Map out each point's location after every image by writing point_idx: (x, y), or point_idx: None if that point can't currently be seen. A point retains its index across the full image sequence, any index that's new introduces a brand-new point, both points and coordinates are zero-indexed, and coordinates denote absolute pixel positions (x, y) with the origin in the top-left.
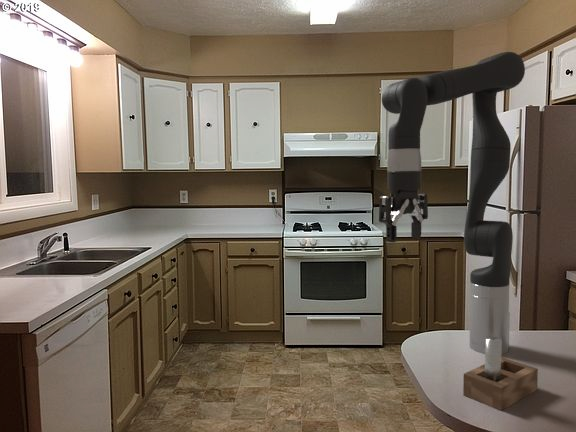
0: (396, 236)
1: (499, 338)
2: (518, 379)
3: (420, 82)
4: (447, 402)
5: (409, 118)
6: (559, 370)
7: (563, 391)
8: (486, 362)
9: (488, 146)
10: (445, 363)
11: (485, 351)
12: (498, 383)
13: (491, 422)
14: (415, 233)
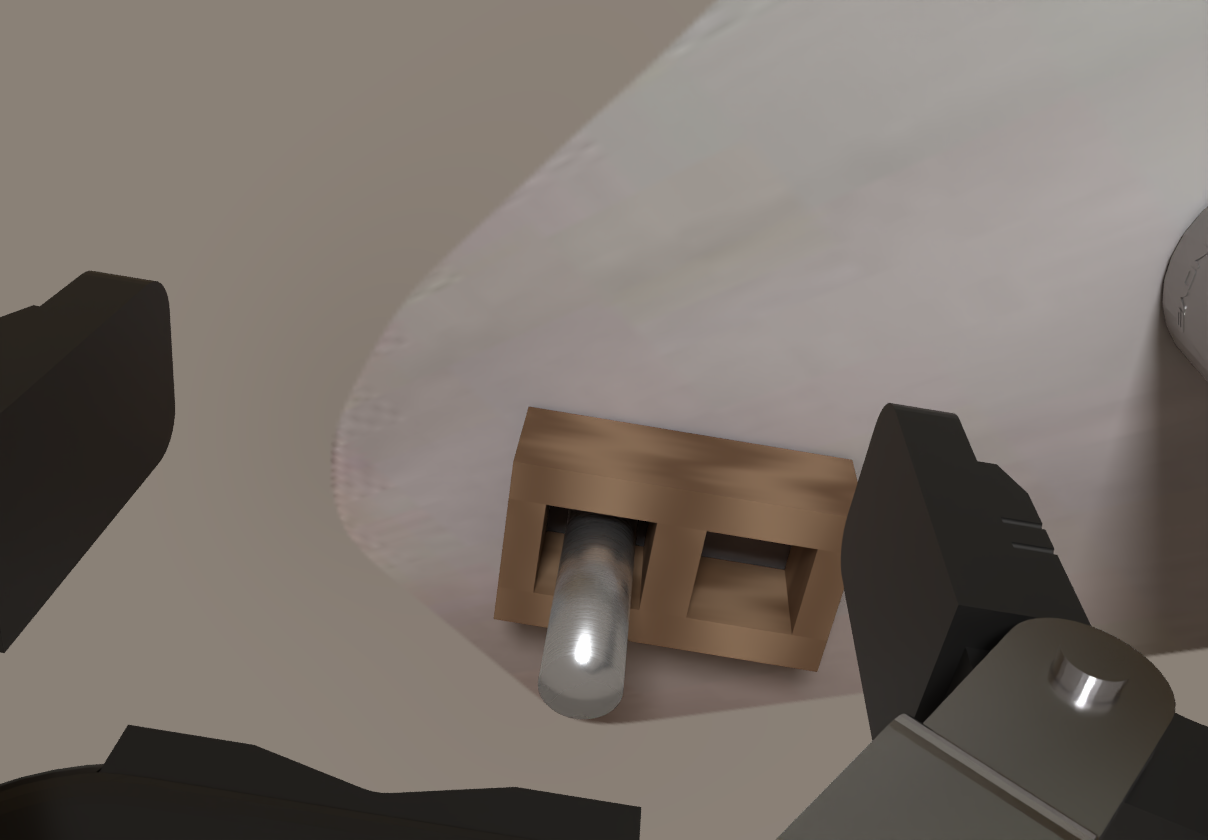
0: (124, 501)
1: (612, 705)
2: (637, 640)
3: None
4: (420, 377)
5: None
6: (1115, 622)
7: None
8: (558, 585)
9: None
10: (862, 172)
11: (560, 613)
12: (527, 599)
13: (405, 551)
14: (870, 539)
